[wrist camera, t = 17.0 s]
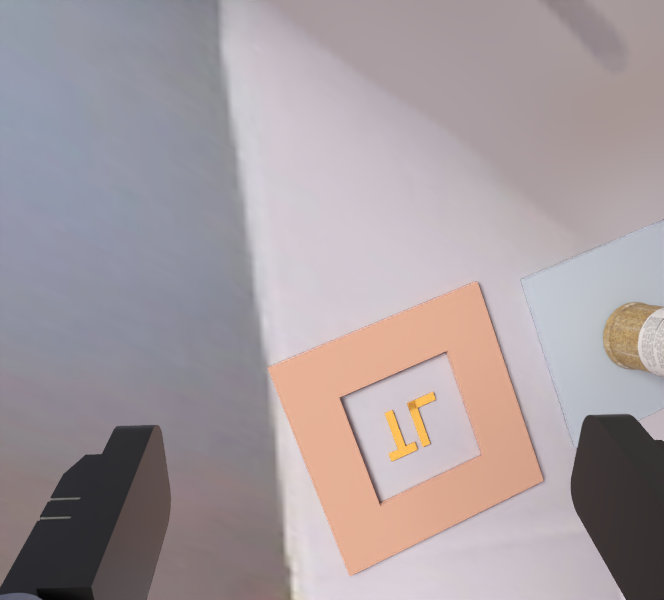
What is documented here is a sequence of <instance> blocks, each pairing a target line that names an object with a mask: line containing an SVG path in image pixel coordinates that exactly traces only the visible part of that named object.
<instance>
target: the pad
mask: <svg viewBox="0 0 664 600" xmlns="http://www.w3.org/2000/svg"><path fill="white" fill-rule="evenodd" d="M520 280H521V283H522V286H523V289H524V292H525V295H526V298H527V302H528V305H529V308H530V311H531V314H532V317H533V320H534V323H535V326H536V330H537V333H538V336H539V339H540V342H541V345H542V348H543V351H544V354H545V358H546V361H547V364H548V367H549V370H550V373H551V376H552V379H553V383H554V386H555V389H556V392H557V395H558V398H559V401H560V404H561V407H562V411H563V414H564V417H565V420H566V423H567V426H568V429H569V432H570V435H571V439H572V442H573V445H574V447H576V448H577V447H578V442H579V437H580V432H581V427H582V423H583V421H584V419H585V417H586V416H588V415H602V414H630V415H632V416H633V417H635V418H636V420H637V421H639V420H641V419H643V418H645V417H647V416H649V415H651V414H653V413H655V412H657V411H659V410H661V409H663V408H664V378H663V377H660V376H657V375H655V374H653V373H650V372H646V371H642V370H638V369H637V370H631V369H625V368H623V367H620V366H618V365H616V364H615V363H614V362H613V361H612V360H611V359H610V358H609V356H608V355H607V353H606V351H605V348H604V343H603V333H604V329H605V324H606V321H607V320H608V318H609V317H610V315H611V314H612V313H613V312H614V311H615V310H616V309H617V308H619V307H620V306H622V305H624V304H626V303H631V302H641V303H645V304H648V305H654V306H662V307H664V219H663V220H661V221H659V222H656V223H654V224H651V225H649V226H647V227H644V228H642V229H640V230H637V231H635V232H632V233H630V234H628V235H625V236H623V237H620V238H618V239H616V240H613V241H611V242H608V243H606V244H604V245H601V246H599V247H596V248H594V249H592V250H589V251H587V252H585V253H582V254H580V255H577V256H575V257H573V258H570V259H568V260H565V261H563V262H561V263H558V264H556V265H553V266H551V267H549V268H546V269H544V270H542V271H539V272H537V273H534V274H532V275H530V276H527V277H525V278H522V279H520Z"/></svg>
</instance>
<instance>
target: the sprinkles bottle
mask: <svg viewBox="0 0 664 600" xmlns="http://www.w3.org/2000/svg"><path fill="white" fill-rule="evenodd" d="M603 343H604V348H605V351H606V353H607V355H608V356H609V358H610V359H611V360H612V361H613V362H614V363H615V364H616V365H618V366H620V367H623V368H625V369H631V370H637V369H638V370H642V371H646V372H650V373H653V374H655V375H657V376H660V377H663V378H664V307H662V306H654V305H648V304H645V303H641V302H631V303H626V304H624V305H622V306H620V307H619V308H617V309H616V310H615V311H614V312H613V313H612V314H611V315H610V317H609V318H608V320H607V321H606V324H605V329H604V333H603Z"/></svg>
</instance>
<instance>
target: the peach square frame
mask: <svg viewBox="0 0 664 600" xmlns="http://www.w3.org/2000/svg"><path fill="white" fill-rule="evenodd" d="M443 352H446V353H447V356H448V359H449V362H450V365H451V367H452V370H453V373H454V376H455V379H456V382H457V385H458V388H459V391H460V393H461V396H462V399H463V402H464V405H465V408H466V411H467V414H468V417H469V419H470V422H471V425H472V428H473V431H474V434H475V437H476V440H477V443H478V445H479V448H480V451H481V454H482V455H480V456H478V457H476V458H474V459H472V460H469V461H467V462H465V463H463V464H461V465H459V466H457V467H455V468H453V469H450V470H448V471H446V472H444V473H442V474H440V475H438V476H436V477H434V478H431V479H429V480H427V481H425V482H423V483H421V484H419V485H417V486H415V487H412V488H410V489H408V490H406V491H404V492H402V493H400V494H398V495H396V496H393V497H391V498H389V499H387V500H385V501H383V502H381V503H379V501H378V499H377V496H376V493H375V491H374V488H373V485H372V483H371V480H370V477H369V475H368V472H367V469H366V467H365V464H364V462H363V459H362V456H361V454H360V451H359V448H358V446H357V443H356V440H355V438H354V435H353V432H352V430H351V427H350V425H349V422H348V419H347V417H346V414H345V411H344V409H343V406H342V403H341V401H340V398H339V397H342V396H344V395H346V394H349V393H351V392H353V391H356V390H358V389H360V388H363V387H365V386H367V385H369V384H372V383H374V382H376V381H379V380H381V379H383V378H386V377H388V376H390V375H393V374H395V373H397V372H400V371H402V370H404V369H406V368H409V367H411V366H413V365H416V364H418V363H420V362H423V361H425V360H427V359H430V358H432V357H434V356H436V355H439V354H441V353H443ZM267 368H268V370H269V373H270V375H271V378H272V380H273V383H274V385H275V388H276V391H277V393H278V396H279V398H280V401H281V403H282V406H283V408H284V411H285V413H286V416H287V418H288V421H289V424H290V426H291V429H292V431H293V434H294V436H295V439H296V441H297V444H298V446H299V449H300V451H301V454H302V457H303V459H304V462H305V464H306V467H307V469H308V472H309V474H310V477H311V479H312V482H313V484H314V487H315V490H316V492H317V495H318V497H319V500H320V502H321V505H322V507H323V510H324V512H325V515H326V517H327V520H328V523H329V525H330V528H331V530H332V533H333V535H334V538H335V540H336V543H337V545H338V548H339V550H340V553H341V556H342V558H343V561H344V563H345V566H346V568H347V571H348V573H349V575H350V576H352V575H354V574H356V573H358V572H360V571H362V570H364V569H366V568H368V567H370V566H372V565H374V564H376V563H378V562H380V561H382V560H384V559H386V558H388V557H390V556H392V555H394V554H396V553H398V552H400V551H402V550H404V549H406V548H409V547H411V546H413V545H415V544H417V543H419V542H421V541H423V540H425V539H427V538H429V537H431V536H433V535H435V534H437V533H439V532H441V531H443V530H445V529H447V528H449V527H451V526H453V525H455V524H457V523H459V522H461V521H463V520H465V519H467V518H469V517H471V516H473V515H475V514H477V513H479V512H482V511H484V510H486V509H488V508H490V507H492V506H494V505H496V504H498V503H500V502H502V501H504V500H506V499H508V498H510V497H512V496H514V495H516V494H518V493H520V492H522V491H524V490H526V489H528V488H530V487H532V486H534V485H536V484H538V483H540V482H542V481H544V480H543V477H542V474H541V471H540V468H539V465H538V462H537V459H536V456H535V453H534V450H533V447H532V444H531V441H530V438H529V435H528V432H527V429H526V426H525V423H524V420H523V417H522V414H521V411H520V408H519V405H518V402H517V399H516V396H515V393H514V390H513V387H512V384H511V381H510V378H509V375H508V372H507V369H506V366H505V363H504V360H503V357H502V354H501V351H500V348H499V345H498V342H497V339H496V336H495V333H494V330H493V327H492V324H491V321H490V318H489V315H488V311H487V308H486V305H485V302H484V299H483V296H482V293H481V290H480V287H479V284H478V282H473V283H470V284H468V285H465V286H463V287H461V288H458V289H456V290H453V291H451V292H449V293H446V294H444V295H441V296H439V297H436V298H434V299H432V300H429V301H427V302H424V303H422V304H419V305H417V306H415V307H412V308H410V309H407V310H405V311H403V312H400V313H398V314H395V315H393V316H390V317H388V318H386V319H383V320H381V321H378V322H376V323H374V324H371V325H369V326H366V327H364V328H361V329H359V330H357V331H354V332H352V333H349V334H347V335H344V336H342V337H340V338H337V339H335V340H332V341H330V342H328V343H325V344H323V345H320V346H318V347H315V348H313V349H311V350H308V351H306V352H303V353H301V354H298V355H296V356H294V357H291V358H289V359H286V360H284V361H282V362H279V363H277V364H274V365H272V366H269V367H267ZM434 400H436V399H435V396H434V393H433V392H432V393H429V394H427V395H425V396H423V397H420V398H418V399H416V400H414V401H411V402H409V403H407V405H408V407H409V410H410V413H411V416H412V418H413V421H414V424H415V427H416V430H417V432H418V435H419V438H420V441H421V443H422V446H423V447H424V446H426V445H428V444H430V442H429V439H428V436H427V433H426V431H425V428H424V425H423V422H422V419H421V417H420V414H419V411H418V407H420V406H423V405H425V404H427V403H429V402H431V401H434ZM385 416H386V418H387V421H388V424H389V426H390V429H391V432H392V435H393V437H394V440H395V443H396V445H397V448H398V450H396V451H393V452H391V453H389V456H390V459H391V461H394V460H396V459H398V458H400V457H402V456H405V455H407V454H409V453H411V452H413V451H415V450H418V449H417V447H416V444H415V442H413V443H411V444H409V445H407V446H405V443H404V441H403V438H402V435H401V433H400V430H399V427H398V424H397V422H396V419H395V416H394V413H393V411H392V410H391V411H389V412H387V413H385Z"/></svg>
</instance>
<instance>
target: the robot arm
mask: <svg viewBox="0 0 664 600" xmlns="http://www.w3.org/2000/svg"><path fill="white" fill-rule="evenodd" d="M571 495H572V500H573V504H574V507H575V510H576V512H577V514H578V516H579V518H580V519H581V521H582V523H583V525H584V526H585V528H586V530H587V532H588V533H589V535H590V537H591V539H592V541H593V542H594V544H595V546H596V548H597V549H598V551H599V553H600V555H601V556H602V558H603V560H604V562H605V563H606V565H607V567H608V569H609V570H610V572H611V574H612V576H613V578H614V579H615V581H616V583H617V585H618V586H619V588H620V590H621V592H622V593H623V595H624V597H625V599H626V600H664V441H662V440H654V439H653V438H652V437H651V436H650V435H649V434H648V432H647V431H646V430H645V429H644V428H643V427H642V425H641V424H640V423H639V422H638V421H637V420H636V418H635V417H633V416H632V415H630V414H602V415H588V416H586V417H585V419H584V421H583V423H582V427H581V432H580V437H579V442H578V447H577V452H576V457H575V462H574V467H573V472H572V477H571ZM170 506H171V493H170V485H169V478H168V471H167V464H166V457H165V450H164V444H163V437H162V432H161V429H160V427H159V426H158V425H141V426H117V427H116V428H115V429H114V431H113V433H112V435H111V437H110V439H109V441H108V443H107V445H106V447H105V449H104V451H103V453H102V454H96V455H85V456H84V457H83V458H82V459H80V460H79V461H78V462H77V463H76V464H75V465H74V466H72V467H71V468H70V469H69V470H68V471H67V472H66V473H64V474H63V476H62V478H61V480H60V481H59V483H58V485H57V487H56V489H55V490H54V492H53V494H52V496H51V501H50V502H48V503H47V505H46V506H45V508H44V510H43V512H42V514H41V515H40V521H37V523H36V524H35V526H34V528H33V530H32V532H31V533H30V535H29V537H28V539H27V541H26V542H25V544H24V546H23V548H22V550H21V551H20V553H19V555H18V557H17V558H16V560H15V562H14V564H13V566H12V567H11V569H10V571H9V573H8V575H7V576H6V578H5V580H4V582H3V584H2V585H1V587H0V600H147V596H148V593H149V589H150V586H151V582H152V579H153V575H154V572H155V568H156V565H157V561H158V558H159V554H160V551H161V547H162V544H163V540H164V537H165V533H166V530H167V526H168V522H169V516H170Z"/></svg>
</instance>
